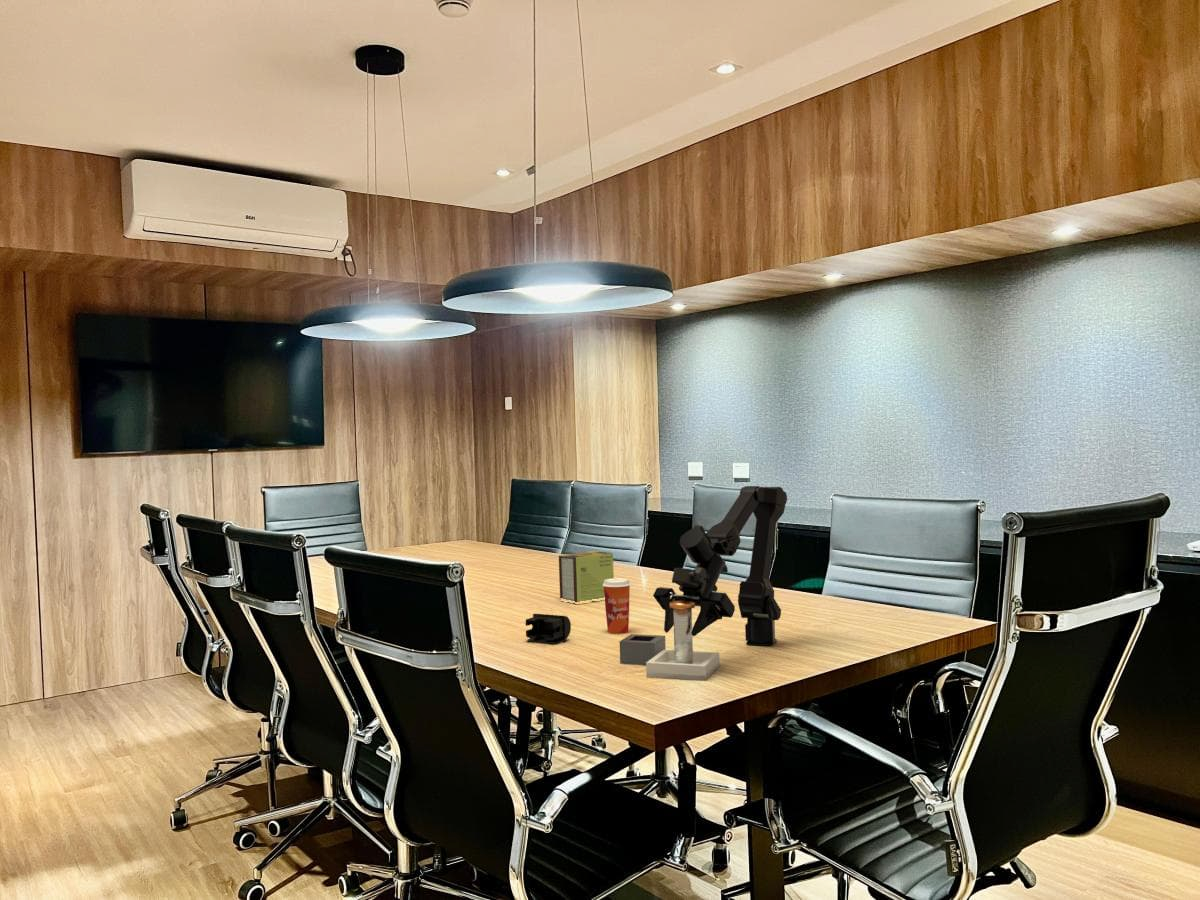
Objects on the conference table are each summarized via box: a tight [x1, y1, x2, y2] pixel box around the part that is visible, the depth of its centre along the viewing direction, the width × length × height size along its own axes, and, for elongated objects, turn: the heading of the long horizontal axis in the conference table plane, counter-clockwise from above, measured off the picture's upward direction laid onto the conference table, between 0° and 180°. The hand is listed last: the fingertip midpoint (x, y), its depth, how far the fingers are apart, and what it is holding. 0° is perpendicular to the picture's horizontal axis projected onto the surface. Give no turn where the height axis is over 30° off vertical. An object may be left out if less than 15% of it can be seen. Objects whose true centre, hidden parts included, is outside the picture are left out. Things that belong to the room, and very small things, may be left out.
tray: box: [645, 649, 721, 681], centre depth 194 cm, size 13×13×3 cm
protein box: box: [558, 550, 615, 602], centre depth 293 cm, size 10×15×16 cm
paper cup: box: [603, 577, 632, 635], centre depth 239 cm, size 8×8×14 cm
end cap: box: [525, 613, 572, 646], centre depth 230 cm, size 10×7×7 cm
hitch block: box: [618, 633, 667, 666], centre depth 205 cm, size 8×8×5 cm
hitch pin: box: [670, 600, 696, 664], centre depth 194 cm, size 6×6×14 cm
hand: (678, 633), depth 193 cm, fingers open, 7 cm apart
